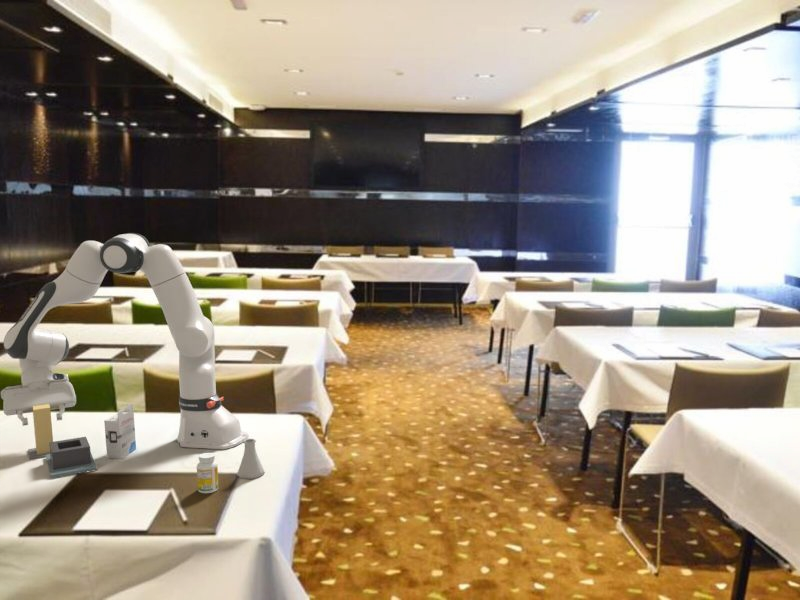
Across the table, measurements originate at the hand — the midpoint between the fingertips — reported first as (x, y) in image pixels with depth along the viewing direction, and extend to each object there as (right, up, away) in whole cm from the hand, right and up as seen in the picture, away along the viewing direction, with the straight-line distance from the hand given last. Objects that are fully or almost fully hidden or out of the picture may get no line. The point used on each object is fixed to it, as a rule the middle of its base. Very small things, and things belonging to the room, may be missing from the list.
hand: (42, 422), depth 228 cm
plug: (0, -9, +2) cm, 9 cm away
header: (+12, -11, -8) cm, 18 cm away
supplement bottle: (+57, -14, -27) cm, 65 cm away
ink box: (+24, -10, 0) cm, 26 cm away
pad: (0, -10, +2) cm, 10 cm away
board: (+12, -11, -8) cm, 18 cm away
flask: (+66, -12, -17) cm, 70 cm away
